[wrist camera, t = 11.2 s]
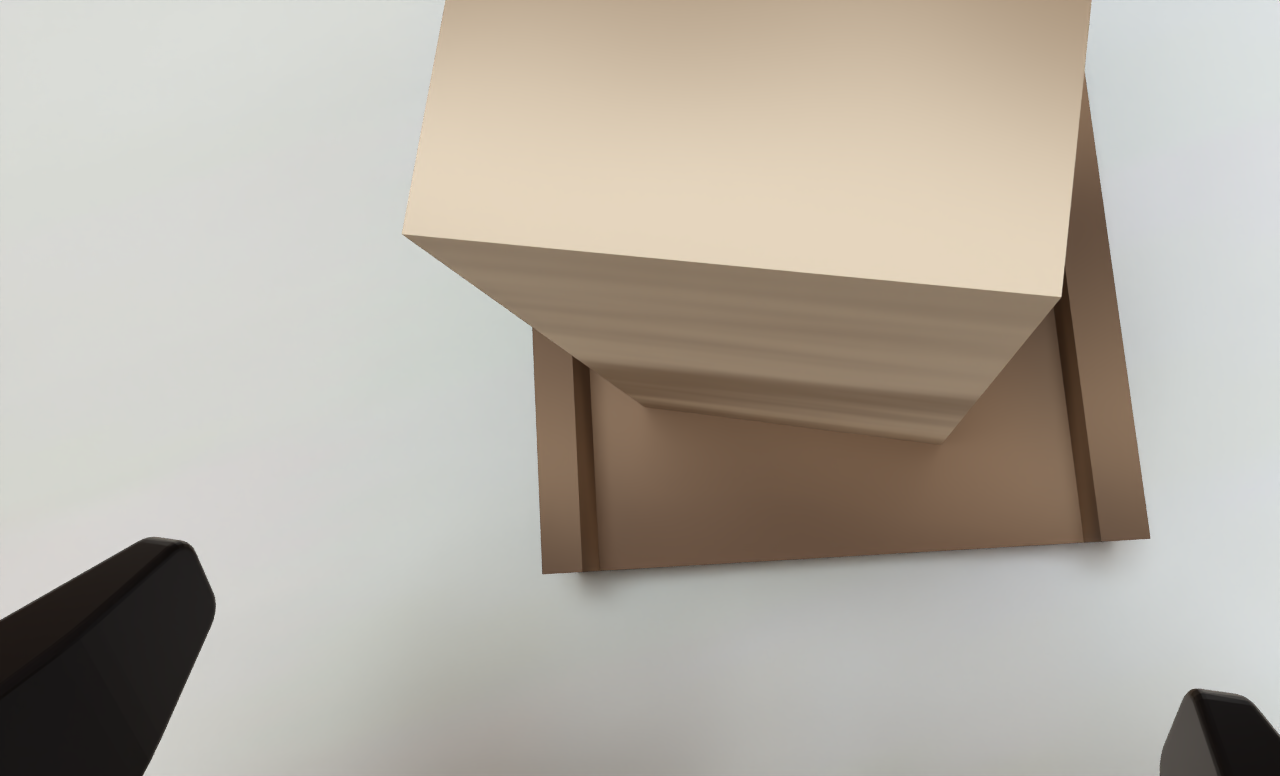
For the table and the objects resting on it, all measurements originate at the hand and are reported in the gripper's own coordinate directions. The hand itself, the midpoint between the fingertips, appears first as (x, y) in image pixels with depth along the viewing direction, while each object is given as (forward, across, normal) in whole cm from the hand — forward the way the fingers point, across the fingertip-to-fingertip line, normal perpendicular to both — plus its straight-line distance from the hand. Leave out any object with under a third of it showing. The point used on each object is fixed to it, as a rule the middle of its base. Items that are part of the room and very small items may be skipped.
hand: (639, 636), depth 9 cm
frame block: (+12, 0, +4) cm, 13 cm away
